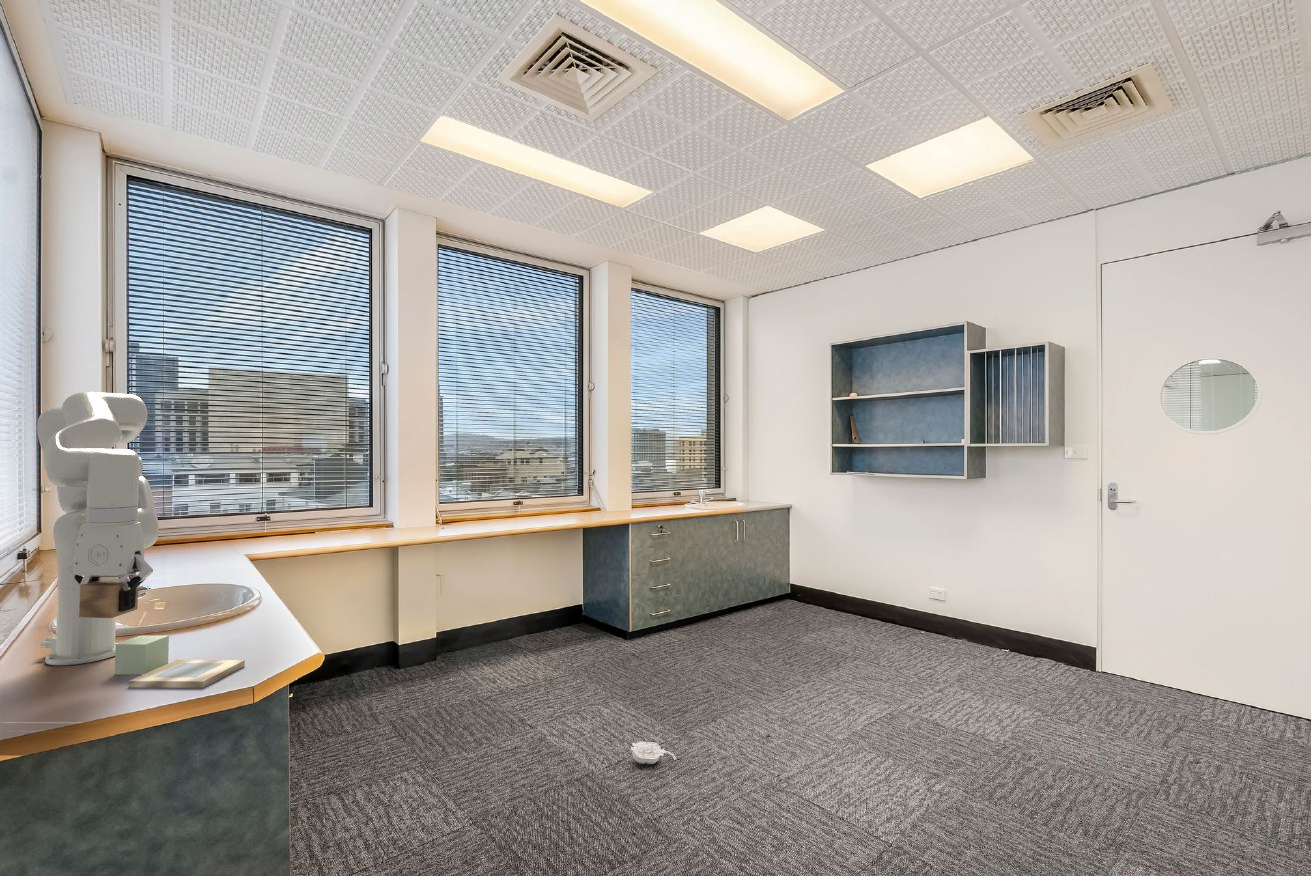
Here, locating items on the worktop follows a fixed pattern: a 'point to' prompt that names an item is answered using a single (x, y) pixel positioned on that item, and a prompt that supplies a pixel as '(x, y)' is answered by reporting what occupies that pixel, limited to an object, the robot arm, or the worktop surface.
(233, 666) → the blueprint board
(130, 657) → the sage cube
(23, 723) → the worktop surface
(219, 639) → the worktop surface
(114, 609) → the walnut cube
